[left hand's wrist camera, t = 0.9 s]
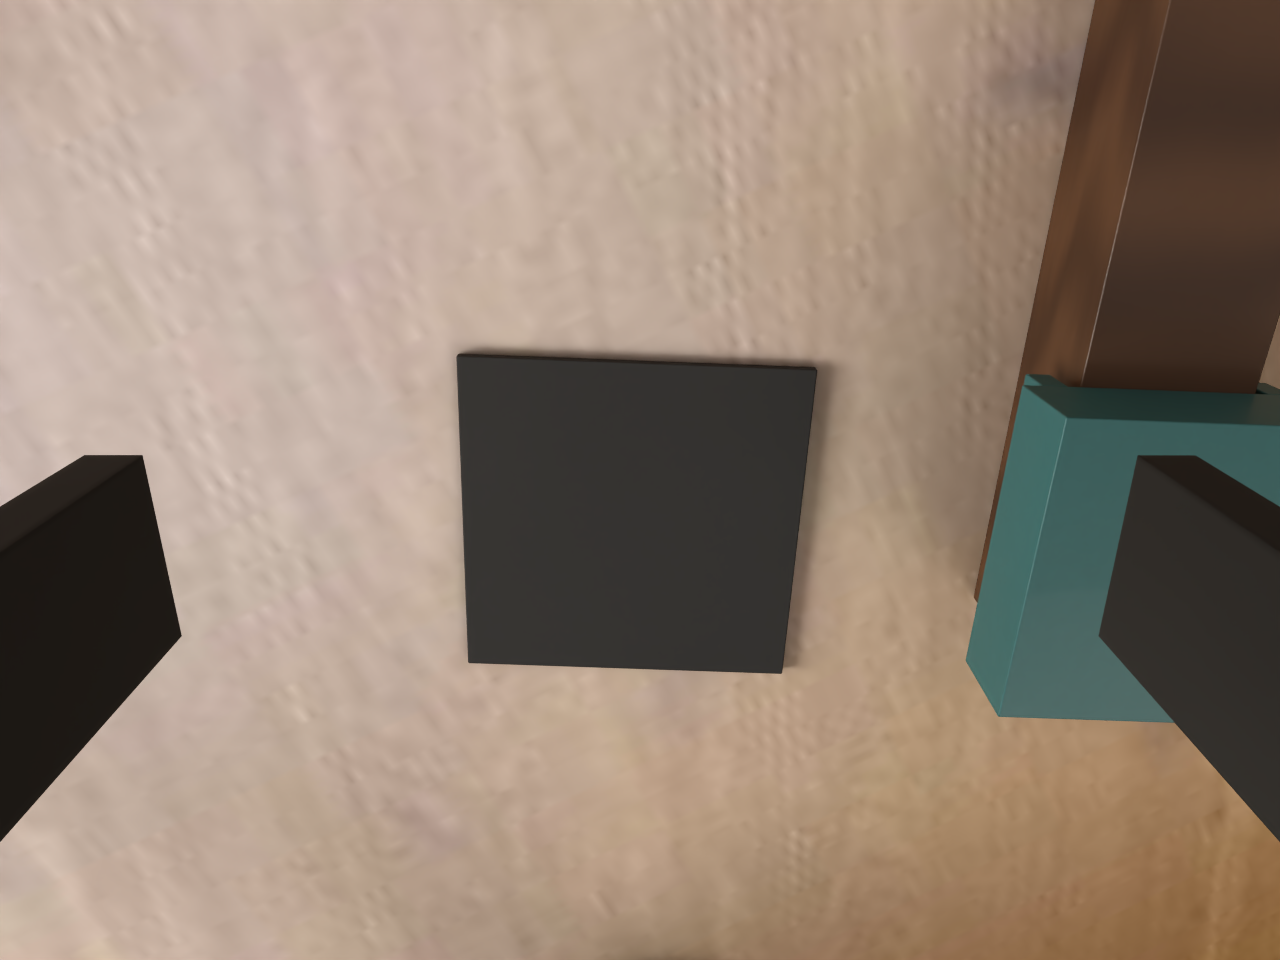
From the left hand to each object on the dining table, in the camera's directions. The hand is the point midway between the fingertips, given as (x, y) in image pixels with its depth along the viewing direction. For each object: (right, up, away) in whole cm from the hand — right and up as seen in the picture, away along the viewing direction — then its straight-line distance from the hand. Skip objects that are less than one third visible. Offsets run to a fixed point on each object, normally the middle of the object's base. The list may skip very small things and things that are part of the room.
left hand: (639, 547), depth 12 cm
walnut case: (+18, +9, +22) cm, 30 cm away
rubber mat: (0, -1, +26) cm, 26 cm away
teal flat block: (+18, -1, +22) cm, 28 cm away
